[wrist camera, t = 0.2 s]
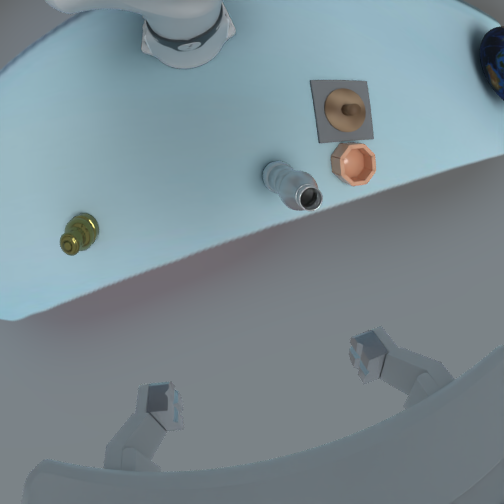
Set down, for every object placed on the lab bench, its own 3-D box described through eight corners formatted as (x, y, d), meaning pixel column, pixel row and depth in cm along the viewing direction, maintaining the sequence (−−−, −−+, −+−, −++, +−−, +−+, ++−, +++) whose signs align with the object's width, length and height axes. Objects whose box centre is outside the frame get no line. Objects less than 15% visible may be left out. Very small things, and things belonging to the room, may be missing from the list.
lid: (320, 88, 48) (330, 86, 43) (360, 89, 48) (372, 87, 44) (327, 133, 52) (337, 134, 48) (366, 131, 53) (377, 132, 49)
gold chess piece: (105, 228, 53) (89, 246, 44) (88, 249, 55) (72, 270, 46) (83, 205, 50) (63, 221, 41) (66, 228, 51) (47, 246, 43)
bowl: (329, 144, 54) (338, 145, 50) (363, 141, 54) (374, 143, 51) (333, 183, 58) (342, 187, 54) (366, 178, 59) (376, 182, 55)
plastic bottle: (279, 153, 53) (316, 166, 35) (296, 178, 56) (339, 203, 38) (254, 171, 54) (279, 194, 36) (272, 196, 57) (305, 229, 39)
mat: (309, 80, 47) (310, 80, 47) (365, 81, 48) (366, 81, 48) (318, 143, 53) (319, 143, 53) (372, 138, 54) (373, 139, 54)
